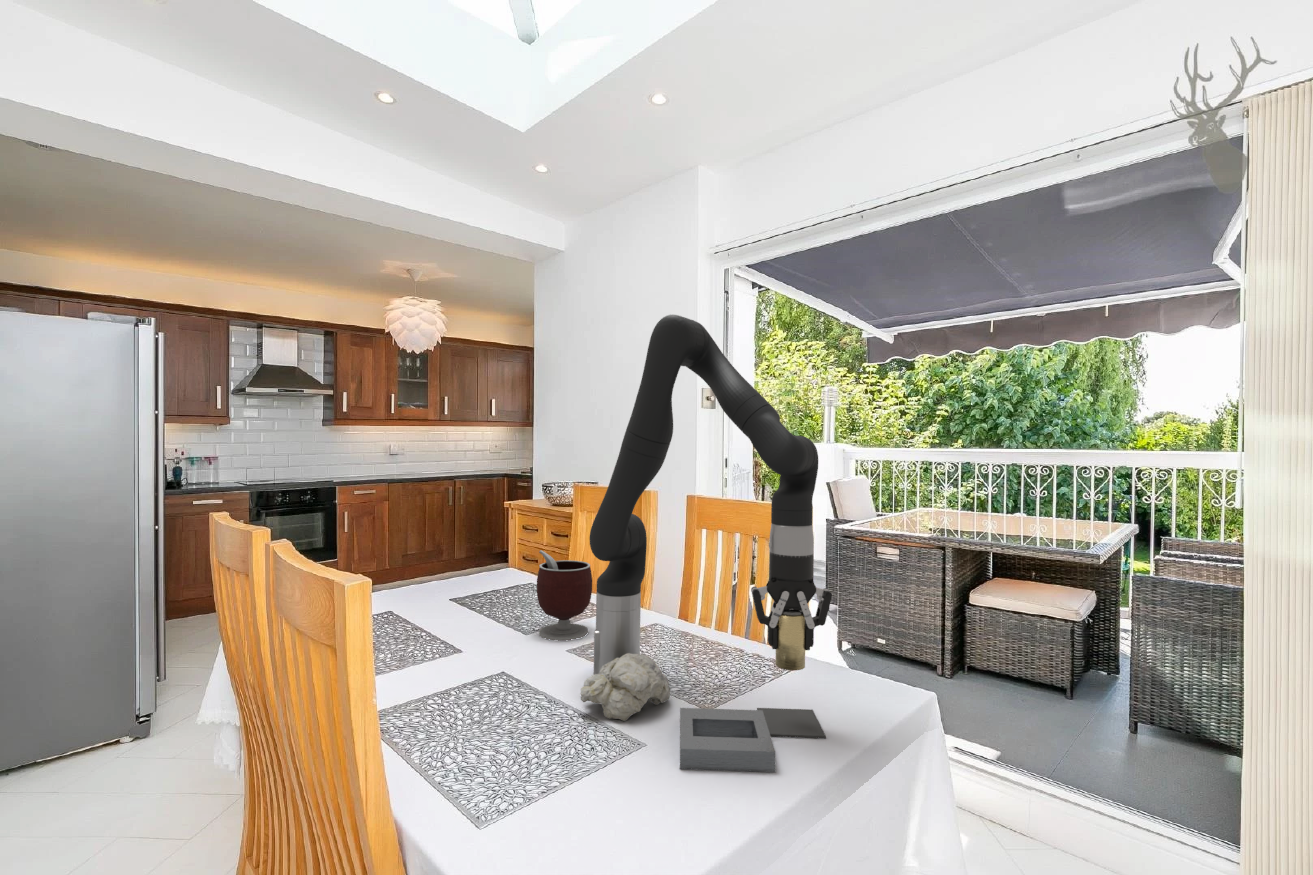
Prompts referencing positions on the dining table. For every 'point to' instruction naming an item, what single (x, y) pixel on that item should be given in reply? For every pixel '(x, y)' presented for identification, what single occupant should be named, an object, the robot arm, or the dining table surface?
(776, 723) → the mat
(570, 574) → the mate gourd
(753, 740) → the block
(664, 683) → the mineral
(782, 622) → the tan cylinder
